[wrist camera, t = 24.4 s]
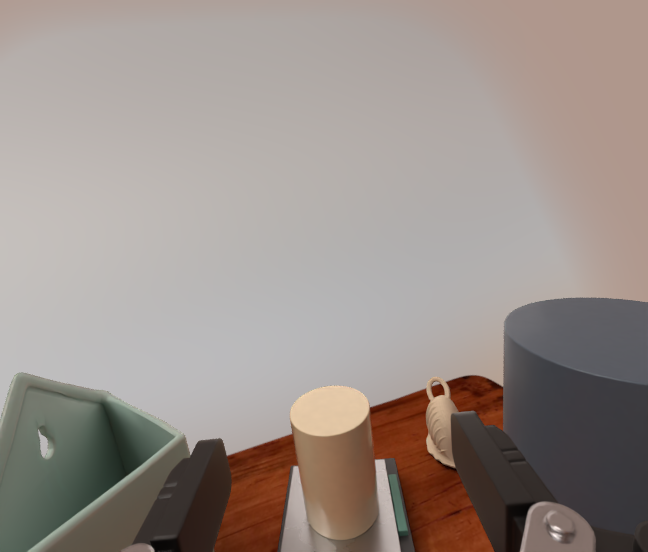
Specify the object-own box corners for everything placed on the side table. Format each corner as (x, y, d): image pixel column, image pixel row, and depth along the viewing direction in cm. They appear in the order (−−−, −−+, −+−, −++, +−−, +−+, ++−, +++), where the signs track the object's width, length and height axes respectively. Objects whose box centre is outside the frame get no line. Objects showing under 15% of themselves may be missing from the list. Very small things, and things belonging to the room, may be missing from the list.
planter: (215, 760, 18) (112, 434, 13) (43, 831, 16) (-145, 493, 12) (228, 498, 33) (184, 305, 29) (141, 523, 32) (78, 323, 27)
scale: (396, 476, 34) (394, 452, 33) (421, 594, 24) (418, 563, 23) (294, 484, 34) (289, 460, 33) (277, 602, 24) (271, 572, 24)
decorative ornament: (428, 470, 34) (425, 423, 32) (425, 415, 42) (423, 375, 40) (473, 474, 33) (472, 426, 31) (461, 417, 40) (460, 376, 39)
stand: (609, 560, 24) (638, 290, 20) (760, 766, 16) (881, 373, 11) (479, 567, 25) (475, 306, 20) (556, 771, 16) (582, 399, 11)
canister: (375, 472, 31) (366, 382, 29) (383, 538, 25) (373, 432, 23) (309, 476, 31) (295, 388, 29) (301, 542, 26) (283, 439, 23)
